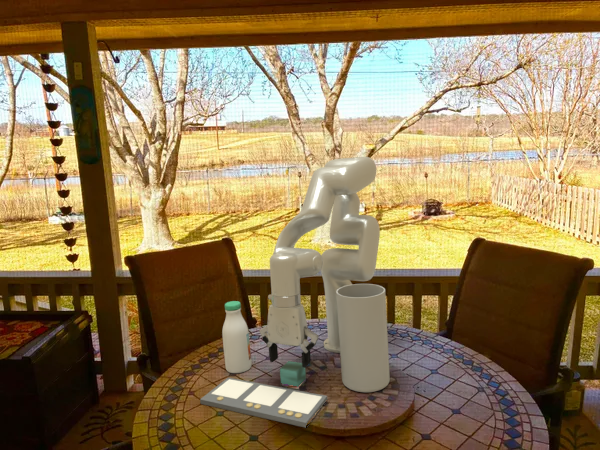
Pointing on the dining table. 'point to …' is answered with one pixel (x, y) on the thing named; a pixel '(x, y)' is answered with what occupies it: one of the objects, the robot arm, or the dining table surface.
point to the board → (265, 401)
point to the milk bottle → (236, 339)
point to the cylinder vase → (363, 337)
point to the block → (292, 373)
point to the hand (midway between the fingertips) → (289, 362)
